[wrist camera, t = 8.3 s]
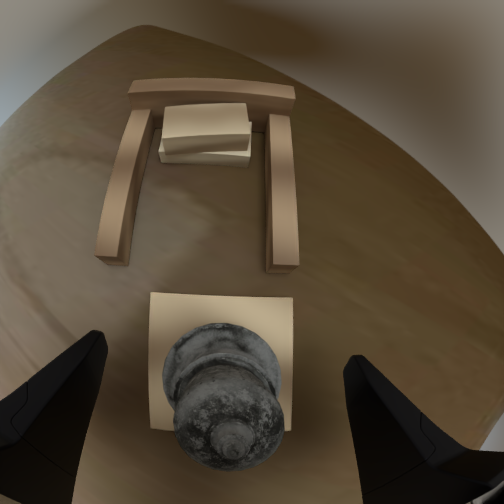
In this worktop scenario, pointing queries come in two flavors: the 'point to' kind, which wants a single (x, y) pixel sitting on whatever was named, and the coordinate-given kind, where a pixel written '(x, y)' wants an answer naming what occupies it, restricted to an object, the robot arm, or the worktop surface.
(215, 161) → the offcut lower
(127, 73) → the worktop surface
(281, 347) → the cork mat
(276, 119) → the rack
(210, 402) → the grey chess piece
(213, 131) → the offcut upper
